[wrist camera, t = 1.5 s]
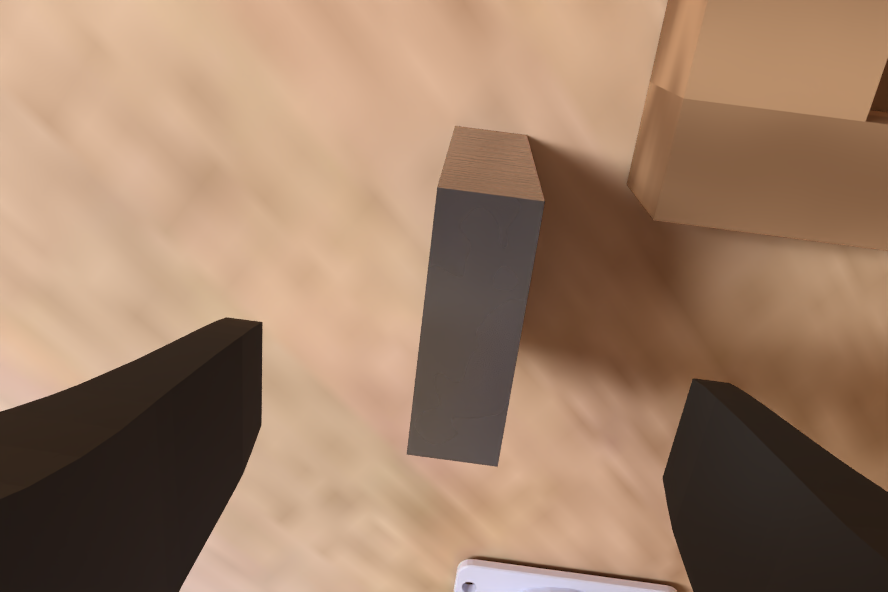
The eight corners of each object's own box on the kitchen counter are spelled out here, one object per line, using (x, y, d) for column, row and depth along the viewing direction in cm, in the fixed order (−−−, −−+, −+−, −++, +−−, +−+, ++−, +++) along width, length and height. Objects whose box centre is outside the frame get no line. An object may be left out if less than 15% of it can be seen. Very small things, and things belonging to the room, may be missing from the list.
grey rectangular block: (495, 328, 22) (497, 466, 15) (431, 320, 22) (406, 454, 15) (526, 135, 19) (545, 201, 13) (455, 126, 19) (437, 187, 13)
